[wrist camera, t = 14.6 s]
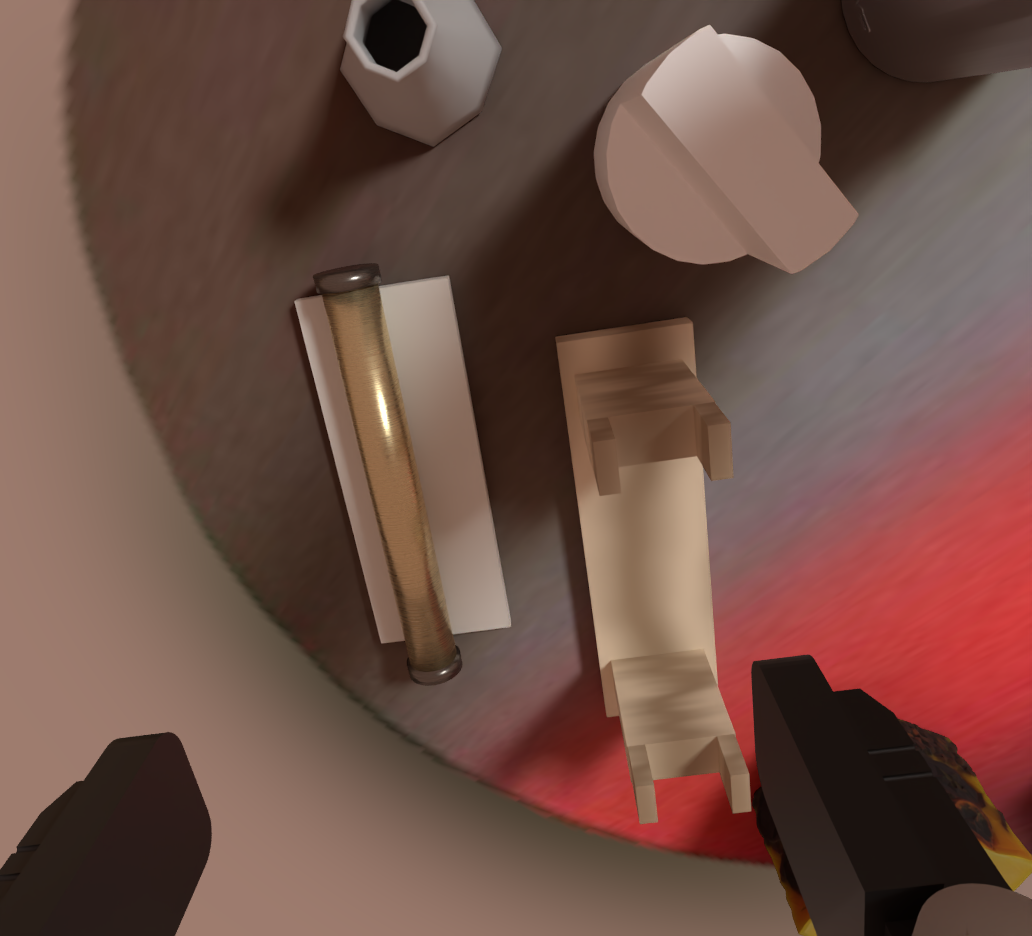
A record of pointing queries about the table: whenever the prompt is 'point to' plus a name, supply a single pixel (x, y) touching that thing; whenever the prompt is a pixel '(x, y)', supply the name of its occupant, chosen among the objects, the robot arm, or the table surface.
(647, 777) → the rail stand
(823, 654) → the table surface
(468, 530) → the grey mat
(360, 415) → the brass rail
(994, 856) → the yellow cube with hole
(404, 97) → the flask
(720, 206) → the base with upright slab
